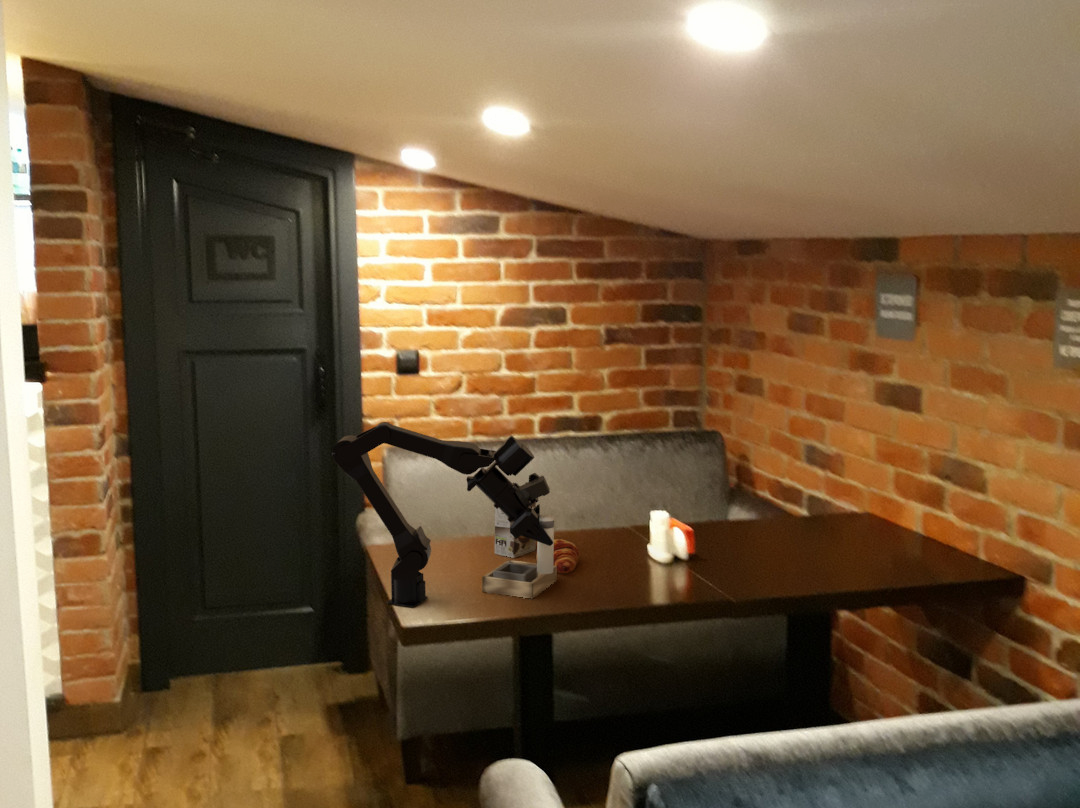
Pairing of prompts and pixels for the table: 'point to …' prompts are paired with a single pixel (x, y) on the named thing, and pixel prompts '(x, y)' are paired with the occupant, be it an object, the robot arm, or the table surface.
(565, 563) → the croissant
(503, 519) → the coffee box
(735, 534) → the table surface
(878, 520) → the table surface
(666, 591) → the table surface
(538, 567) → the white banded cylinder
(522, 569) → the box
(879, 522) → the table surface
